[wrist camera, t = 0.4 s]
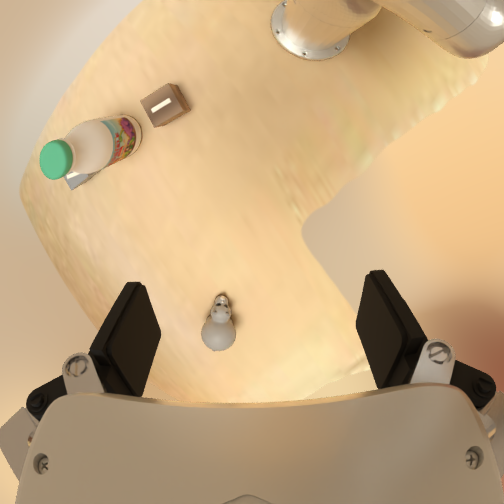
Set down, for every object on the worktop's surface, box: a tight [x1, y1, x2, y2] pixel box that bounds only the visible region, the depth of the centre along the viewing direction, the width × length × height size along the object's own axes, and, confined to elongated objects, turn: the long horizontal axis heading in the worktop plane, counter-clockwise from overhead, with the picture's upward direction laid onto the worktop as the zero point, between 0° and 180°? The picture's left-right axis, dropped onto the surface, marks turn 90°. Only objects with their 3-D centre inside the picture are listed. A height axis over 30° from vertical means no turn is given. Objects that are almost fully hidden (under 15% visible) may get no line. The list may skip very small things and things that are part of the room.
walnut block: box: [140, 83, 190, 128], centre depth 36 cm, size 5×5×5 cm
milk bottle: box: [40, 115, 141, 180], centre depth 32 cm, size 8×8×20 cm
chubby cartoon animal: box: [201, 295, 236, 351], centre depth 56 cm, size 7×12×8 cm, turn 169°
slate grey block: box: [64, 169, 102, 191], centre depth 40 cm, size 5×5×5 cm
